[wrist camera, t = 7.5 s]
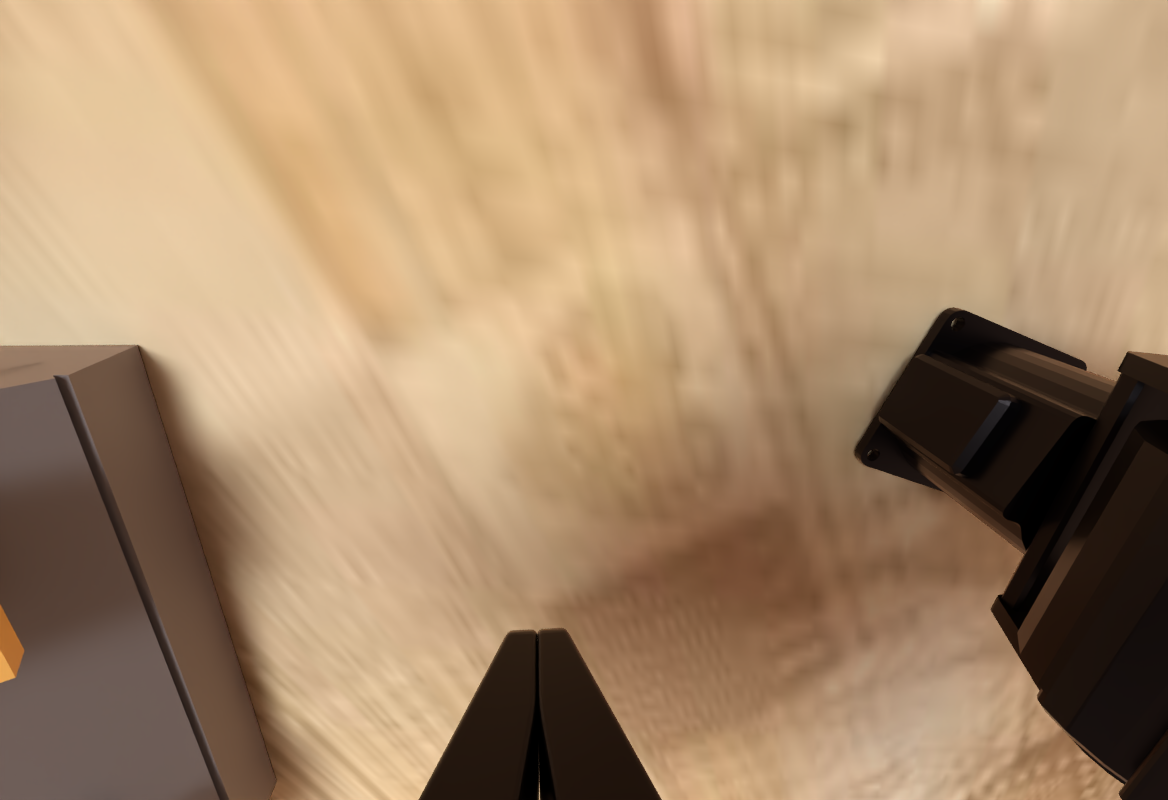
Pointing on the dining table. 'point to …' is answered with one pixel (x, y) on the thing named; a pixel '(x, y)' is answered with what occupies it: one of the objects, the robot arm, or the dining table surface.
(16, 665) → the block
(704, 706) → the dining table surface
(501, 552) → the dining table surface
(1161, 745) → the robot arm
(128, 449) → the switch console
